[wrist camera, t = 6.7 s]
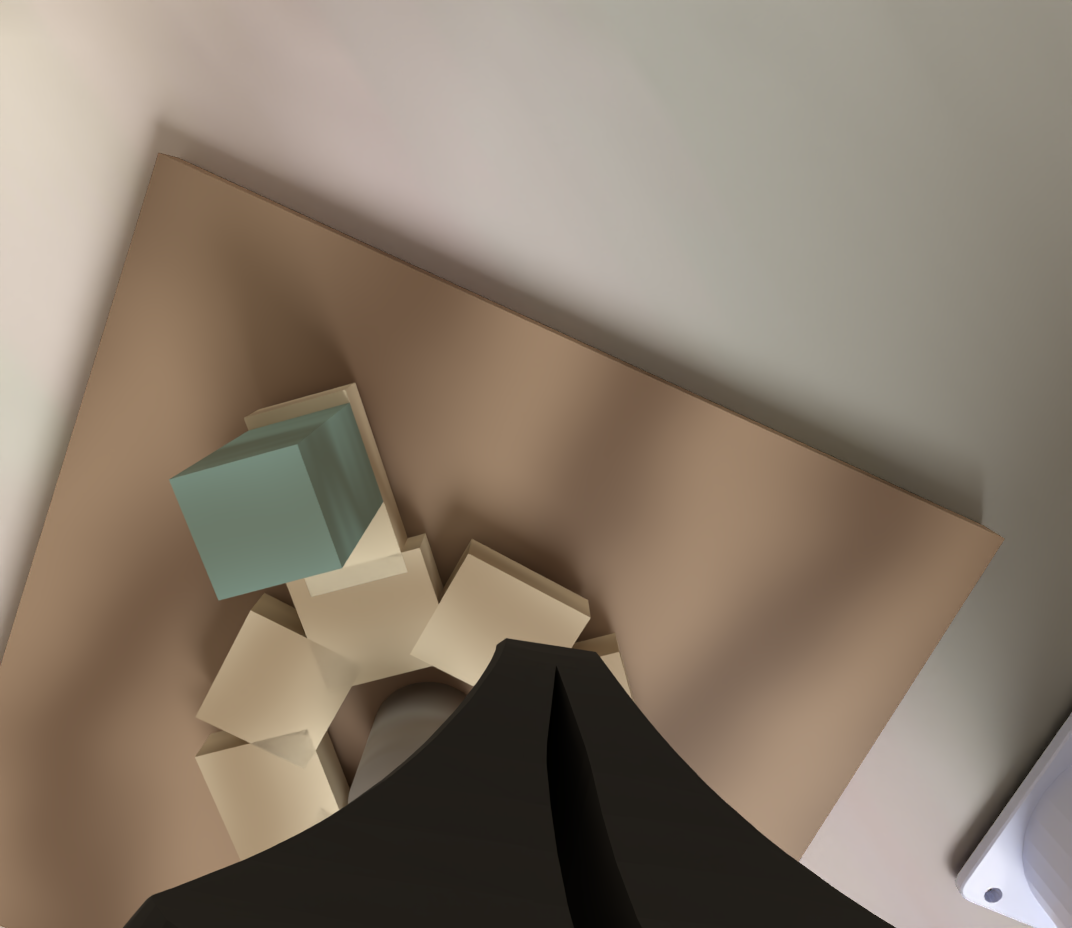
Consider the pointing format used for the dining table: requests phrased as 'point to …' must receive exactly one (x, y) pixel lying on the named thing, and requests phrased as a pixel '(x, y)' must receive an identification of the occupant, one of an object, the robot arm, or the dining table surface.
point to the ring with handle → (334, 606)
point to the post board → (432, 548)
